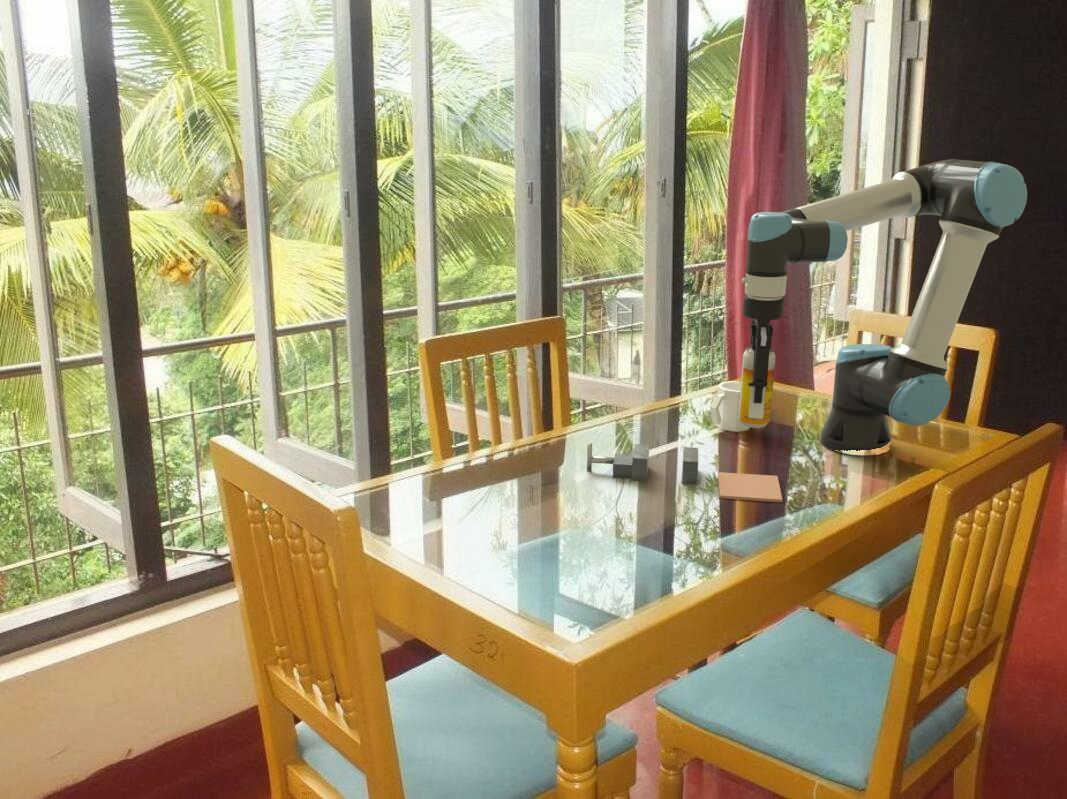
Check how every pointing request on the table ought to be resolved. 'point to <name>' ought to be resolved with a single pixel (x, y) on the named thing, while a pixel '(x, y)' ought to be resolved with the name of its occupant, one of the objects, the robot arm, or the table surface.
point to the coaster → (749, 487)
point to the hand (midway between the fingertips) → (754, 411)
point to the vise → (644, 464)
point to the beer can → (746, 390)
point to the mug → (727, 407)
